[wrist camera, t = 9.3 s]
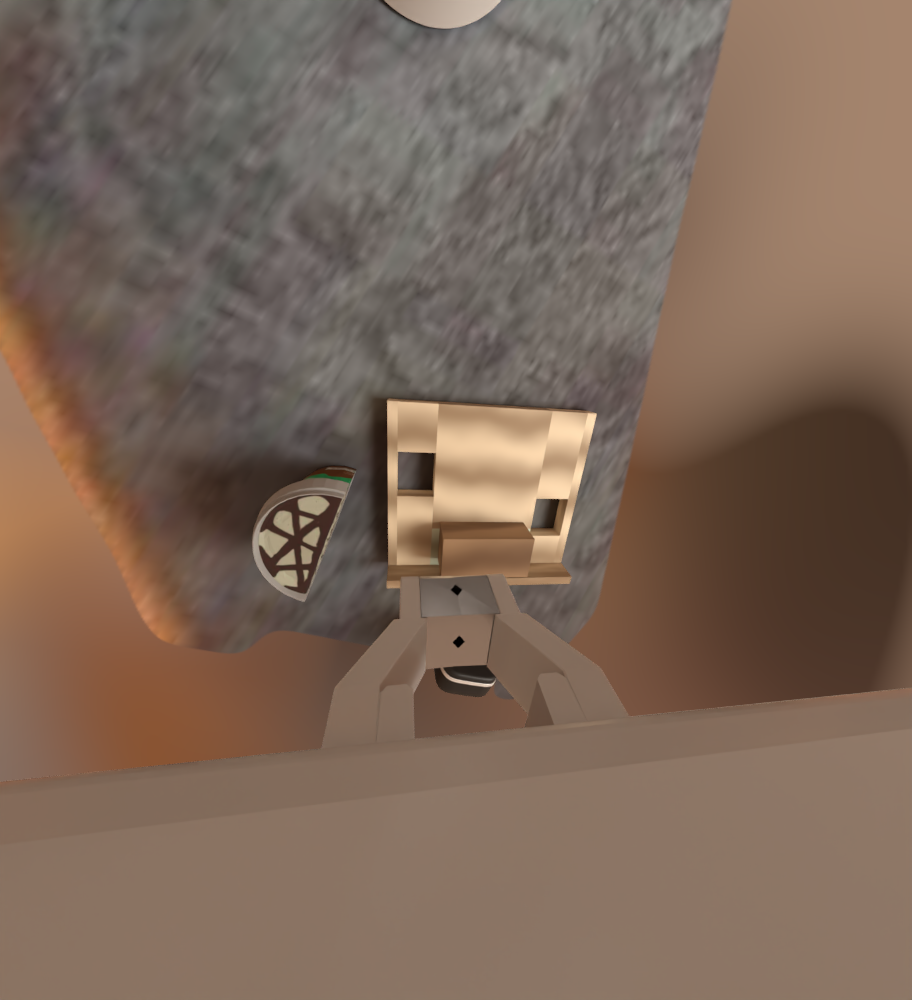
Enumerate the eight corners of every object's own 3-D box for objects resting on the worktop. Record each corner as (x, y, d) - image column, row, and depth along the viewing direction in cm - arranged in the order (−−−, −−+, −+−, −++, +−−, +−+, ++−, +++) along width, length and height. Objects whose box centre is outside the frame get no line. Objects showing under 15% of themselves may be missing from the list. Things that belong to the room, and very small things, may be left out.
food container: (302, 434, 34) (264, 463, 25) (361, 457, 35) (345, 492, 26) (272, 532, 38) (230, 588, 29) (326, 548, 39) (302, 606, 30)
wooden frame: (388, 398, 33) (385, 405, 29) (587, 410, 37) (612, 418, 32) (389, 562, 41) (387, 588, 37) (553, 560, 45) (569, 583, 40)
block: (440, 521, 38) (443, 539, 34) (523, 522, 39) (534, 539, 36) (437, 558, 40) (440, 578, 36) (516, 557, 41) (527, 576, 38)
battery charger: (426, 620, 46) (432, 697, 36) (435, 599, 45) (444, 673, 34) (471, 629, 48) (489, 705, 37) (481, 609, 47) (503, 682, 36)
